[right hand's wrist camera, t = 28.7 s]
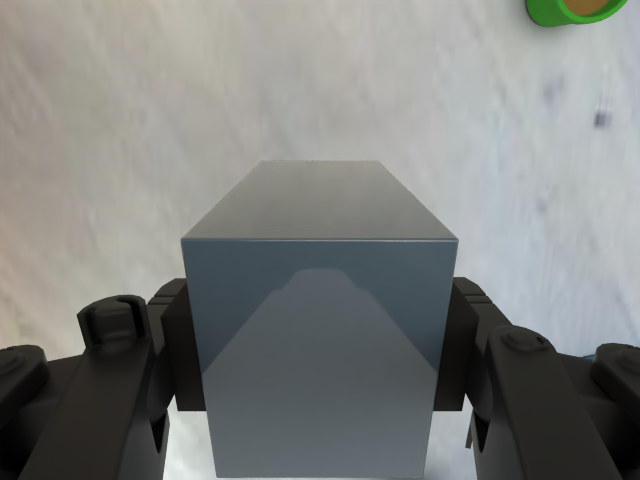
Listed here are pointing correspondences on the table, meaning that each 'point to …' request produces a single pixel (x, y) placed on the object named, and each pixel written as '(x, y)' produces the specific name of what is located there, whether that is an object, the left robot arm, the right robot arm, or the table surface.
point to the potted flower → (571, 11)
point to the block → (319, 321)
